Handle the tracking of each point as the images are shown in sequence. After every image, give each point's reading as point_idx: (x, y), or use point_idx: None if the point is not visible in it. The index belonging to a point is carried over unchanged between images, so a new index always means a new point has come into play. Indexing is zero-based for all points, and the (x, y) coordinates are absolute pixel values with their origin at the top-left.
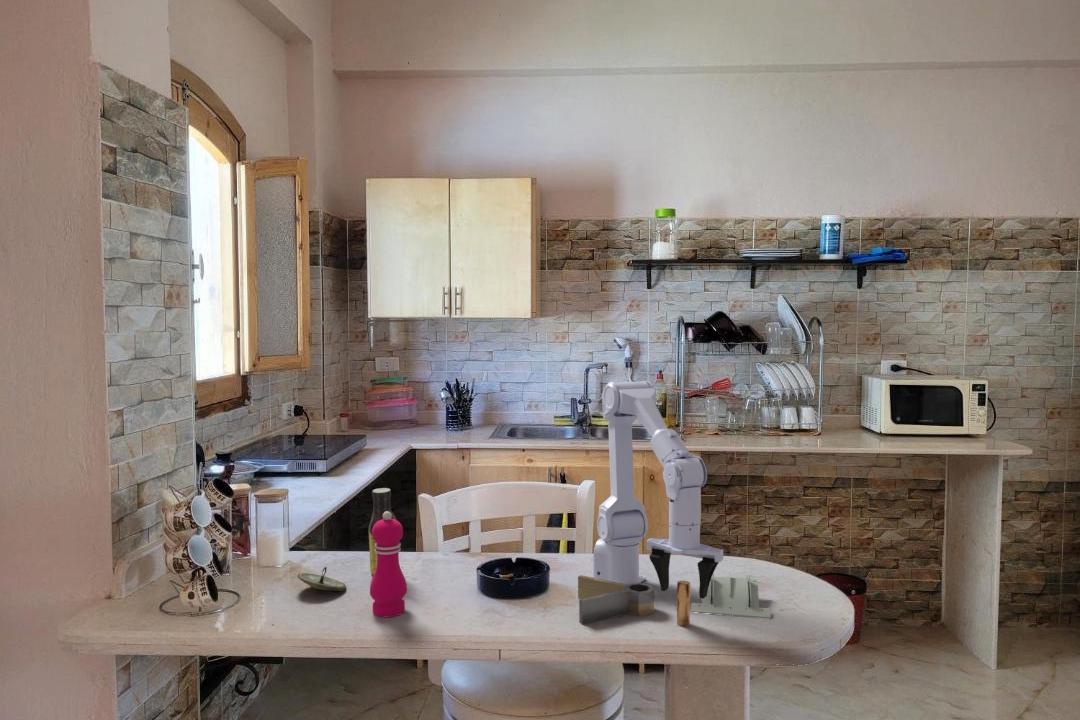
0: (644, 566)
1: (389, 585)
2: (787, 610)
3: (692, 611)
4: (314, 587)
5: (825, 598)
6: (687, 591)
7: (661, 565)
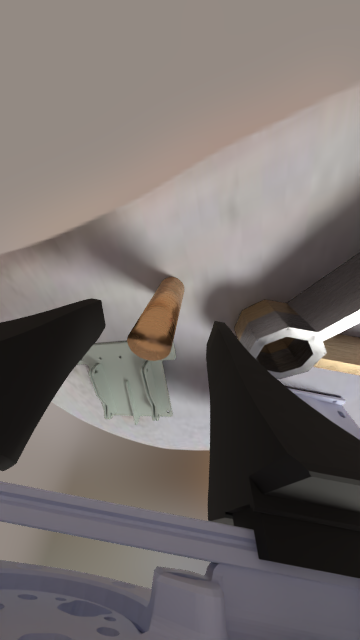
0: None
1: None
2: None
3: None
4: None
5: (59, 398)
6: (139, 319)
7: (248, 396)
